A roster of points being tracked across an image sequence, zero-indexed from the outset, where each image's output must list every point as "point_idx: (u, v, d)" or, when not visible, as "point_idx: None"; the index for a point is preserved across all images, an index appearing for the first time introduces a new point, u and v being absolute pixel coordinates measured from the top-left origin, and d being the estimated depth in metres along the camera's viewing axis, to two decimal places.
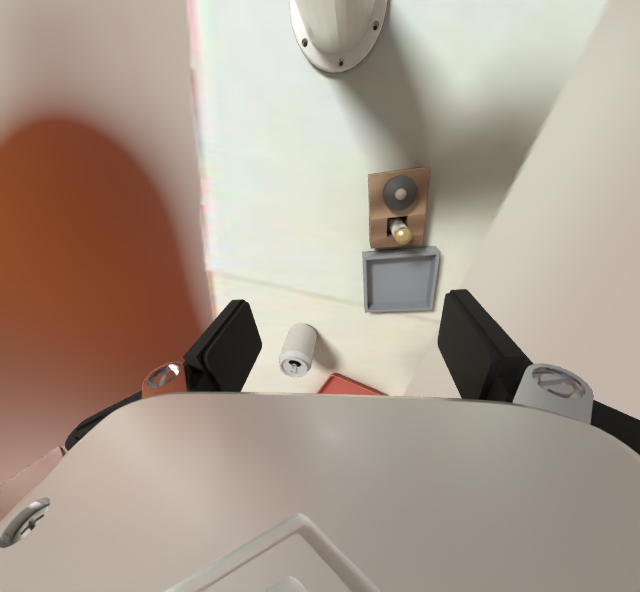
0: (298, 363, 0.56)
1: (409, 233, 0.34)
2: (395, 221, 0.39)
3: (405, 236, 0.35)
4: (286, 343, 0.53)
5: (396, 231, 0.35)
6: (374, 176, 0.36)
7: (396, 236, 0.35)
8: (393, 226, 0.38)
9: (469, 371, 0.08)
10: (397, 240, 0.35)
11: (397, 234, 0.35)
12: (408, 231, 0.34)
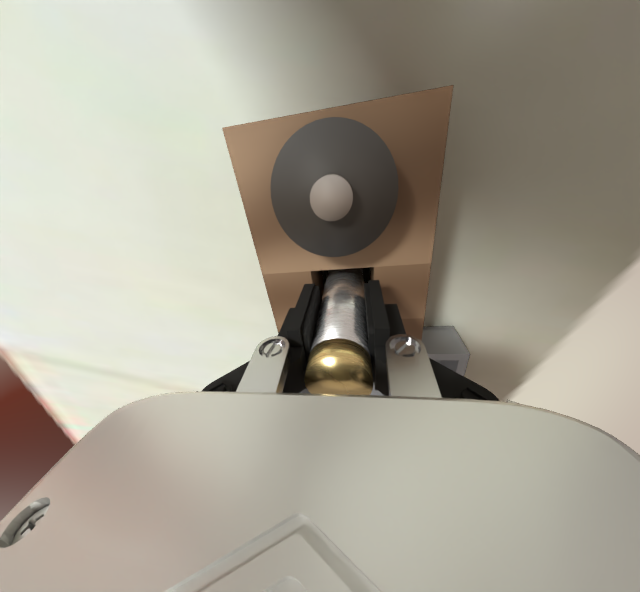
0: None
1: (361, 375, 0.08)
2: (335, 282, 0.12)
3: (345, 383, 0.08)
4: None
5: (312, 352, 0.08)
6: (239, 130, 0.10)
7: (308, 379, 0.08)
8: (321, 309, 0.11)
9: None
10: (315, 392, 0.08)
11: (311, 373, 0.08)
12: (356, 368, 0.07)
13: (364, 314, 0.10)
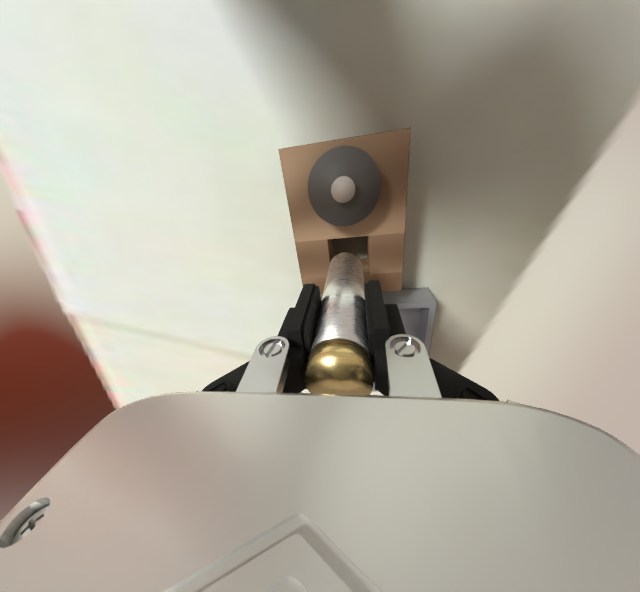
0: None
1: (361, 374, 0.08)
2: (335, 282, 0.12)
3: (345, 382, 0.08)
4: None
5: (313, 352, 0.08)
6: (288, 150, 0.16)
7: (308, 379, 0.08)
8: (321, 309, 0.11)
9: None
10: (315, 391, 0.08)
11: (311, 373, 0.08)
12: (356, 368, 0.07)
13: (364, 314, 0.10)
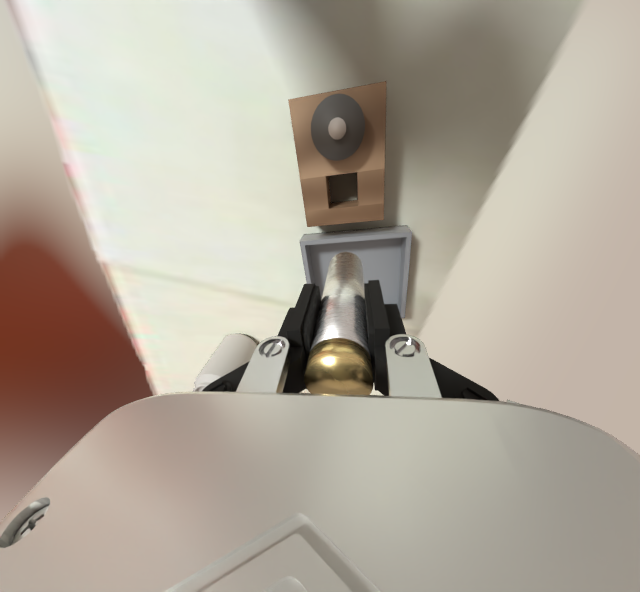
0: None
1: (361, 374, 0.08)
2: (335, 281, 0.12)
3: (345, 382, 0.08)
4: (207, 362, 0.38)
5: (312, 352, 0.08)
6: (296, 100, 0.22)
7: (308, 379, 0.08)
8: (321, 309, 0.11)
9: None
10: (315, 391, 0.08)
11: (310, 373, 0.08)
12: (356, 368, 0.07)
13: (364, 314, 0.10)
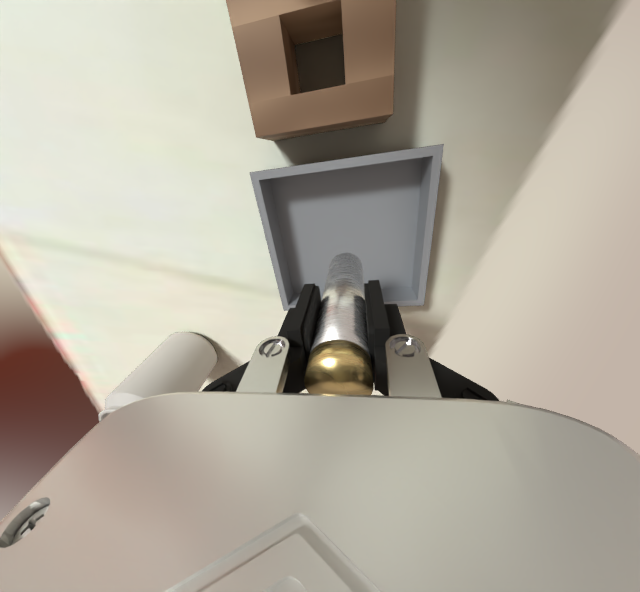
0: None
1: (361, 376, 0.08)
2: (335, 282, 0.12)
3: (345, 384, 0.08)
4: (131, 373, 0.26)
5: (312, 354, 0.08)
6: None
7: (308, 380, 0.08)
8: (320, 310, 0.11)
9: None
10: (315, 393, 0.08)
11: (310, 375, 0.08)
12: (356, 369, 0.07)
13: (364, 315, 0.10)
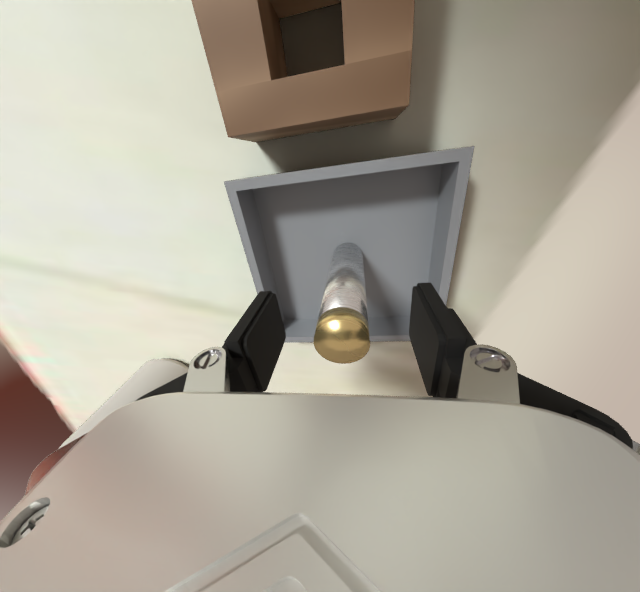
0: None
1: (360, 335, 0.09)
2: (338, 266, 0.14)
3: (347, 342, 0.10)
4: (94, 412, 0.22)
5: (320, 319, 0.10)
6: None
7: (316, 340, 0.10)
8: (326, 288, 0.13)
9: (427, 356, 0.09)
10: (322, 351, 0.10)
11: (319, 335, 0.10)
12: (356, 329, 0.09)
13: (363, 292, 0.12)
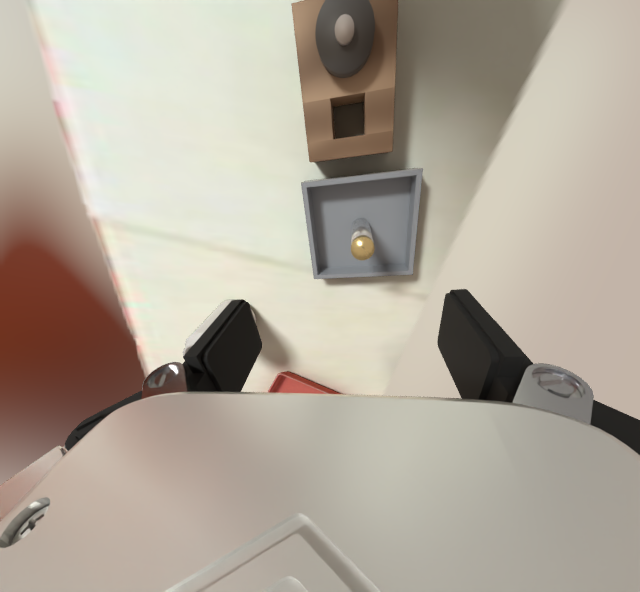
0: None
1: (370, 244, 0.23)
2: (358, 225, 0.28)
3: (365, 248, 0.23)
4: None
5: (353, 240, 0.24)
6: (300, 4, 0.20)
7: (352, 248, 0.24)
8: (353, 233, 0.26)
9: (469, 371, 0.08)
10: (354, 254, 0.24)
11: (353, 245, 0.23)
12: (369, 241, 0.23)
13: (371, 234, 0.26)
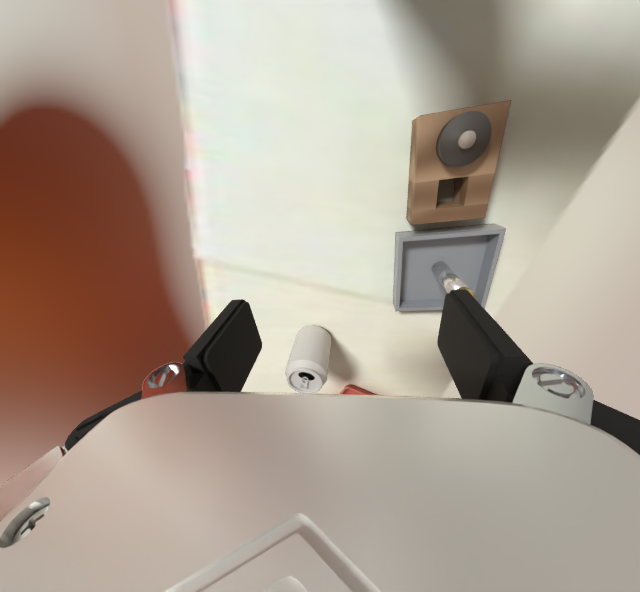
0: (309, 374, 0.45)
1: (472, 295, 0.29)
2: (447, 272, 0.33)
3: None
4: (295, 350, 0.42)
5: None
6: (427, 116, 0.25)
7: None
8: (447, 281, 0.32)
9: (469, 371, 0.08)
10: None
11: None
12: (471, 293, 0.29)
13: (463, 282, 0.32)
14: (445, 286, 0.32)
